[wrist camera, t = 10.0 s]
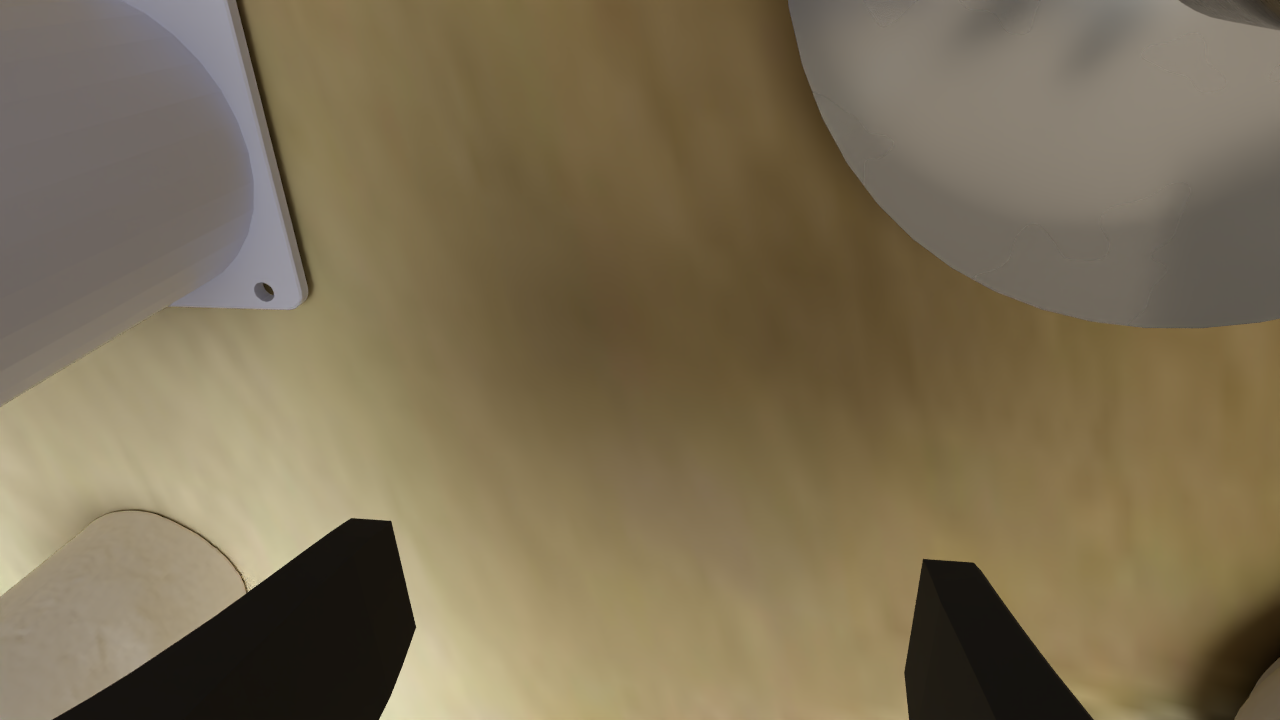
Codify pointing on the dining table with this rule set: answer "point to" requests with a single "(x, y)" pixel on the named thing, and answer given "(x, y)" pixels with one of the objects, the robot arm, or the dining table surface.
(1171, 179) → the steel lid
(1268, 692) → the teacup
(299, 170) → the dining table surface
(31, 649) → the roll
